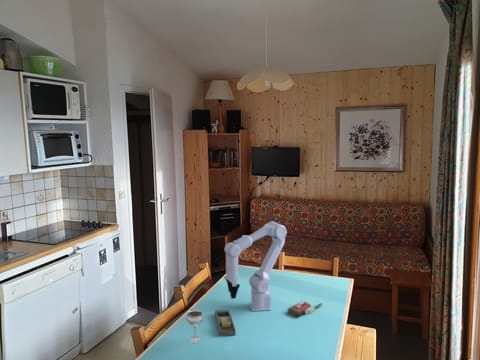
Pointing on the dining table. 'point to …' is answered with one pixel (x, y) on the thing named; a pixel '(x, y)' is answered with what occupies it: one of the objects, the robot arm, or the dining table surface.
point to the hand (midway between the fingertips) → (232, 294)
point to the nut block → (225, 323)
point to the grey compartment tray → (218, 320)
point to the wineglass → (194, 322)
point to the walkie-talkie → (301, 309)
